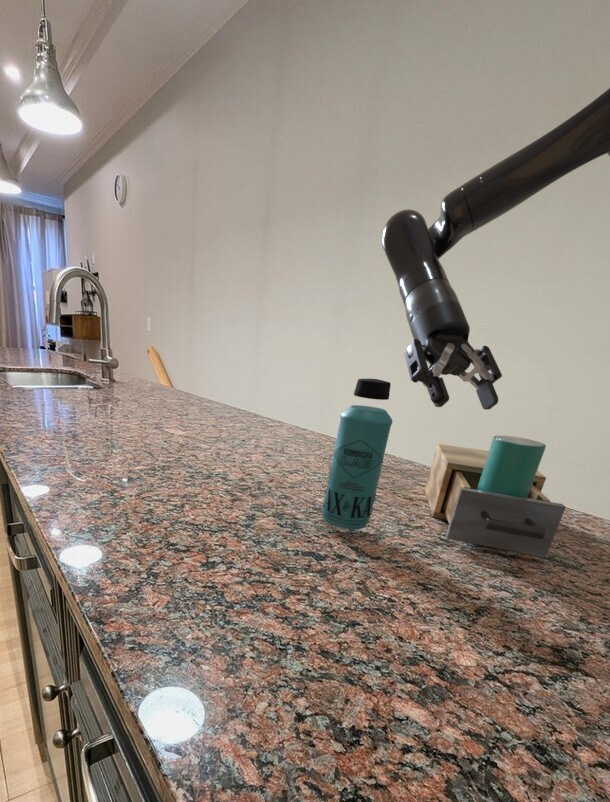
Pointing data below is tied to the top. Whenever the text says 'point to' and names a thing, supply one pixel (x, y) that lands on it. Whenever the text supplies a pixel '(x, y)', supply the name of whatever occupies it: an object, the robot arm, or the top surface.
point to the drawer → (500, 516)
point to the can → (511, 466)
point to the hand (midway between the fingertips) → (467, 405)
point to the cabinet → (457, 460)
